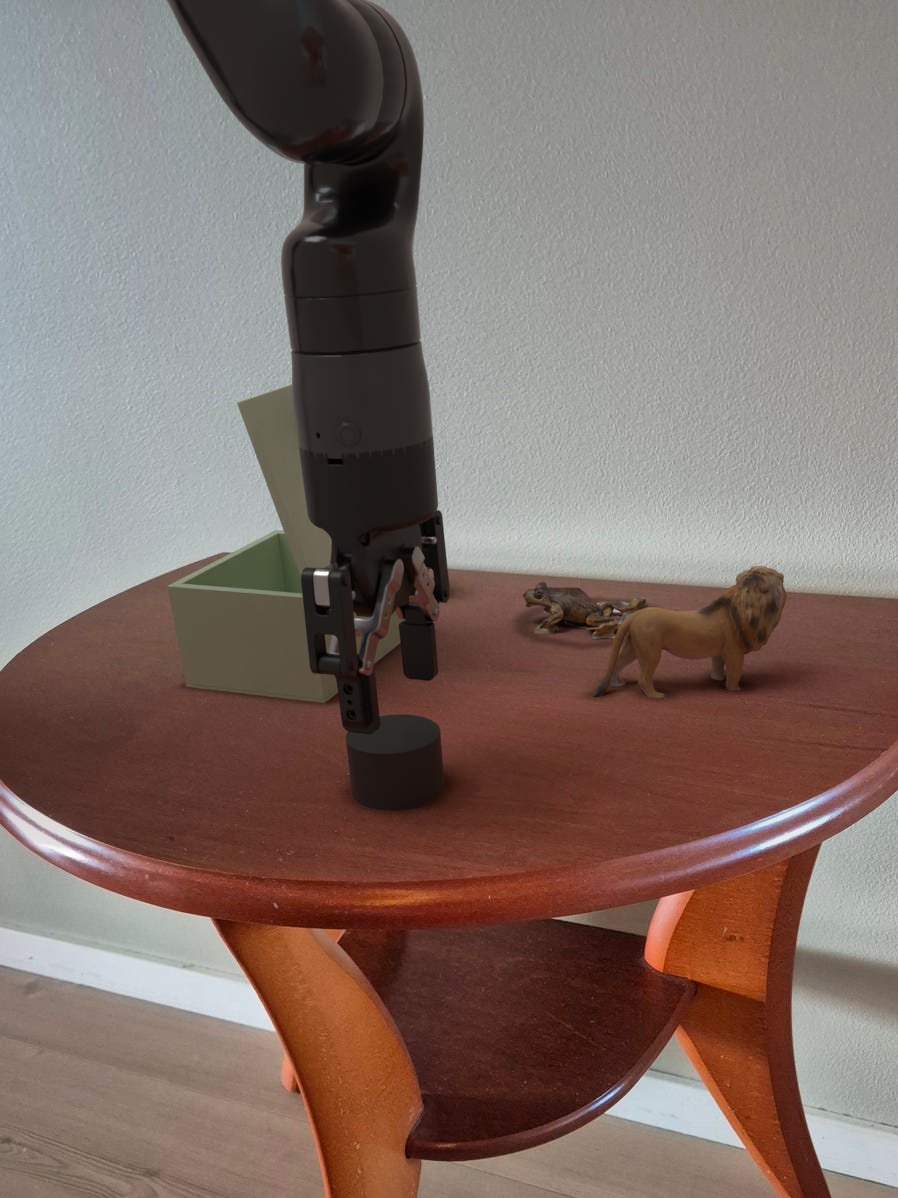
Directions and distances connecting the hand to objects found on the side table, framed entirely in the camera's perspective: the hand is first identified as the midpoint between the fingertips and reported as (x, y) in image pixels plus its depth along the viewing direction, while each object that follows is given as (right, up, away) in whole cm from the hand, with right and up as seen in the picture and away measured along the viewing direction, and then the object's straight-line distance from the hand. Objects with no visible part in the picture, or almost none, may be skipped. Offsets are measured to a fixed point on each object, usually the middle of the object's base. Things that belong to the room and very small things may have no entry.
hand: (392, 703), depth 74 cm
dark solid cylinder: (0, -6, +3) cm, 7 cm away
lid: (-6, +19, +16) cm, 26 cm away
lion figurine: (+22, +3, +16) cm, 27 cm away
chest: (-9, +6, +25) cm, 27 cm away
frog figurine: (+15, +10, +29) cm, 34 cm away
